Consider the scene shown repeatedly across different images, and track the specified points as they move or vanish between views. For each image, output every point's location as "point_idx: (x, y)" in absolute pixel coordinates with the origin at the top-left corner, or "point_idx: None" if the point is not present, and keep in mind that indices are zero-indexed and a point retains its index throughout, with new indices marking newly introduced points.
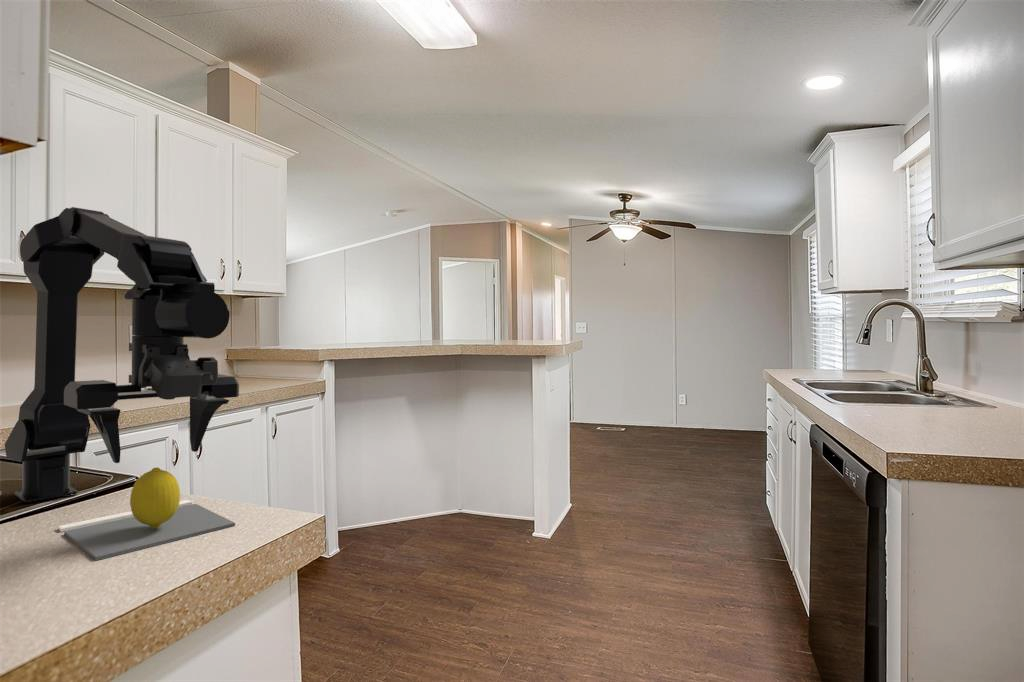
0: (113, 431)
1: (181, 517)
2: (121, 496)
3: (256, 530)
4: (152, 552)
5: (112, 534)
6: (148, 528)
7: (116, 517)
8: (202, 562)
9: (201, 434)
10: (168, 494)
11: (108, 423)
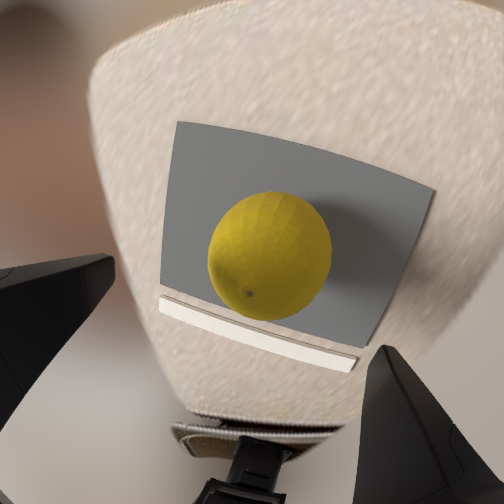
0: (454, 449)
1: None
2: (210, 400)
3: (176, 69)
4: (360, 128)
5: (344, 271)
6: None
7: (278, 339)
8: (336, 14)
9: (50, 266)
10: (269, 199)
11: (485, 484)
